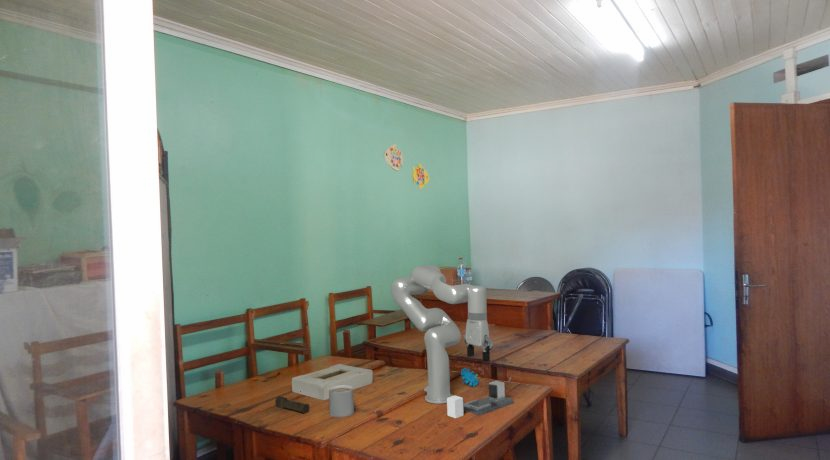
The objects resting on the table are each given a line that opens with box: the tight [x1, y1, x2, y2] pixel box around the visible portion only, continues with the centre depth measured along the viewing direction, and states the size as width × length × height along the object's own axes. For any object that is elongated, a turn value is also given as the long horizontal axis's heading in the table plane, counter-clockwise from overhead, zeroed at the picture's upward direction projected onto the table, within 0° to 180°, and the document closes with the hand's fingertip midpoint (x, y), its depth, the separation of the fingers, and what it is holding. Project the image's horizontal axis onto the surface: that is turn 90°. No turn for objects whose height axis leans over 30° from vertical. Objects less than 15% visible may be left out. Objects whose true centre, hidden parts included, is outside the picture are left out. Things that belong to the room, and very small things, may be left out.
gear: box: [460, 367, 479, 388], centre depth 248 cm, size 11×6×10 cm
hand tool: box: [275, 395, 310, 415], centre depth 221 cm, size 19×4×5 cm, turn 53°
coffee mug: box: [328, 385, 355, 418], centre depth 216 cm, size 13×10×10 cm
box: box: [291, 363, 374, 401], centre depth 250 cm, size 23×8×32 cm
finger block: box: [446, 395, 465, 419], centre depth 207 cm, size 4×5×7 cm
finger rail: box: [464, 380, 514, 416], centre depth 216 cm, size 10×21×8 cm, turn 130°
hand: (478, 358), depth 211 cm, fingers open, 9 cm apart
